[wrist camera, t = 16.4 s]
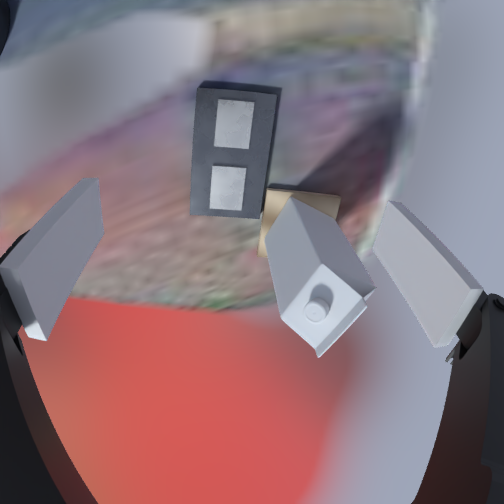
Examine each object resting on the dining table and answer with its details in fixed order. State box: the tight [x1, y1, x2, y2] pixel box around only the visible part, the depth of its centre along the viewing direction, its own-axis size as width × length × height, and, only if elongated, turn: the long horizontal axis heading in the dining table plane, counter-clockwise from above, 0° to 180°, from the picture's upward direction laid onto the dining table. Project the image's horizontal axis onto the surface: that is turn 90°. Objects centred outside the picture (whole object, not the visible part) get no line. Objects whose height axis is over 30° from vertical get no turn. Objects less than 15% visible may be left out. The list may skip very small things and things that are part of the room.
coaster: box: [257, 188, 341, 257], centre depth 42 cm, size 10×10×1 cm
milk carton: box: [264, 197, 377, 357], centre depth 33 cm, size 7×7×19 cm
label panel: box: [190, 88, 277, 219], centre depth 35 cm, size 16×9×1 cm, turn 173°
